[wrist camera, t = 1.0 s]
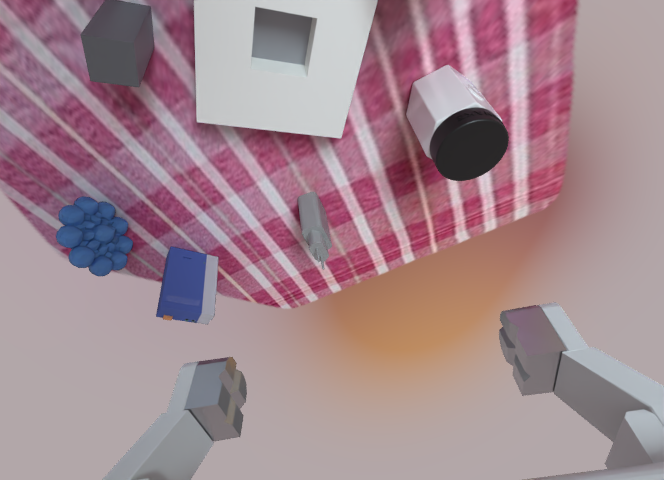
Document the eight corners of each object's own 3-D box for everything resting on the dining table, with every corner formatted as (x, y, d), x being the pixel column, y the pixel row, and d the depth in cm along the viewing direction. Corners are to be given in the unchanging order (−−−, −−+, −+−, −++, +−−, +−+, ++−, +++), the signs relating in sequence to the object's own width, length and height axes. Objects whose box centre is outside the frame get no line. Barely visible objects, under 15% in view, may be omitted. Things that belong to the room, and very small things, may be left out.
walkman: (166, 256, 67) (155, 319, 59) (170, 246, 65) (160, 308, 57) (213, 266, 70) (209, 327, 62) (219, 257, 69) (215, 317, 61)
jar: (484, 88, 52) (527, 140, 44) (440, 136, 57) (472, 192, 49) (435, 52, 48) (473, 103, 40) (392, 108, 52) (418, 163, 44)
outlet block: (195, -111, 34) (191, -104, 32) (382, -65, 39) (392, -54, 36) (199, 104, 48) (196, 122, 46) (336, 121, 53) (341, 138, 50)
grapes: (49, 185, 54) (14, 253, 46) (93, 169, 53) (65, 235, 45) (109, 239, 62) (88, 305, 54) (148, 226, 62) (133, 290, 53)
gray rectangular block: (106, -2, 39) (80, 34, 33) (150, 6, 40) (133, 42, 34) (113, 40, 42) (90, 80, 36) (154, 47, 43) (139, 87, 37)
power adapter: (308, 220, 65) (317, 279, 57) (296, 197, 61) (303, 257, 53) (327, 214, 65) (338, 273, 57) (315, 190, 61) (325, 250, 53)
